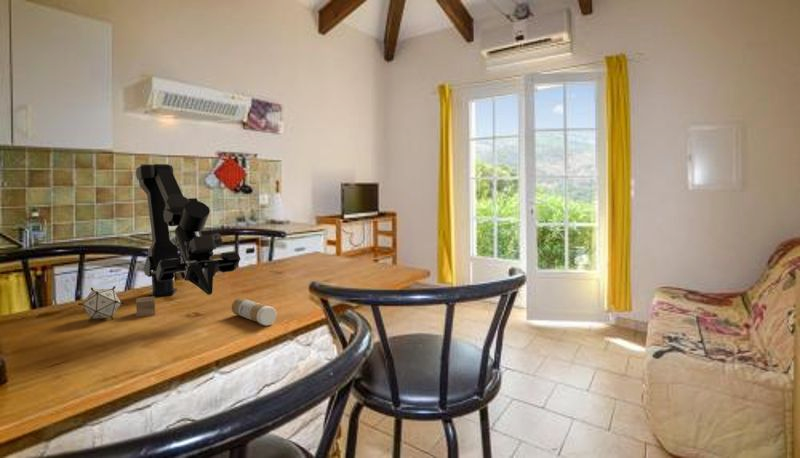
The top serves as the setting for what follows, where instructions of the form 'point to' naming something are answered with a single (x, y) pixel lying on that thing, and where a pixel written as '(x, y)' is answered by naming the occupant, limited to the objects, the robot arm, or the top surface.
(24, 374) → the top surface
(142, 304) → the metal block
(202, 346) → the top surface
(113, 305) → the game die
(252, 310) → the sprinkles bottle
